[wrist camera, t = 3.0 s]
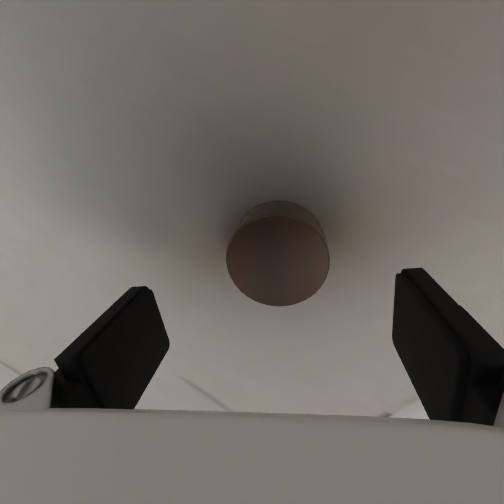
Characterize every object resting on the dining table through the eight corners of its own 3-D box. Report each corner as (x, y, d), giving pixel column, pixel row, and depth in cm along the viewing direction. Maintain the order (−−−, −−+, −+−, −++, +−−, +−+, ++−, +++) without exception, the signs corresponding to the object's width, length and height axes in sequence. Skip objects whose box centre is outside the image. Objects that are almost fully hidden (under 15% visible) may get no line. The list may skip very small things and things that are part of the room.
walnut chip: (322, 195, 14) (327, 207, 11) (326, 279, 16) (331, 304, 13) (228, 206, 15) (216, 220, 12) (243, 284, 17) (235, 308, 14)
